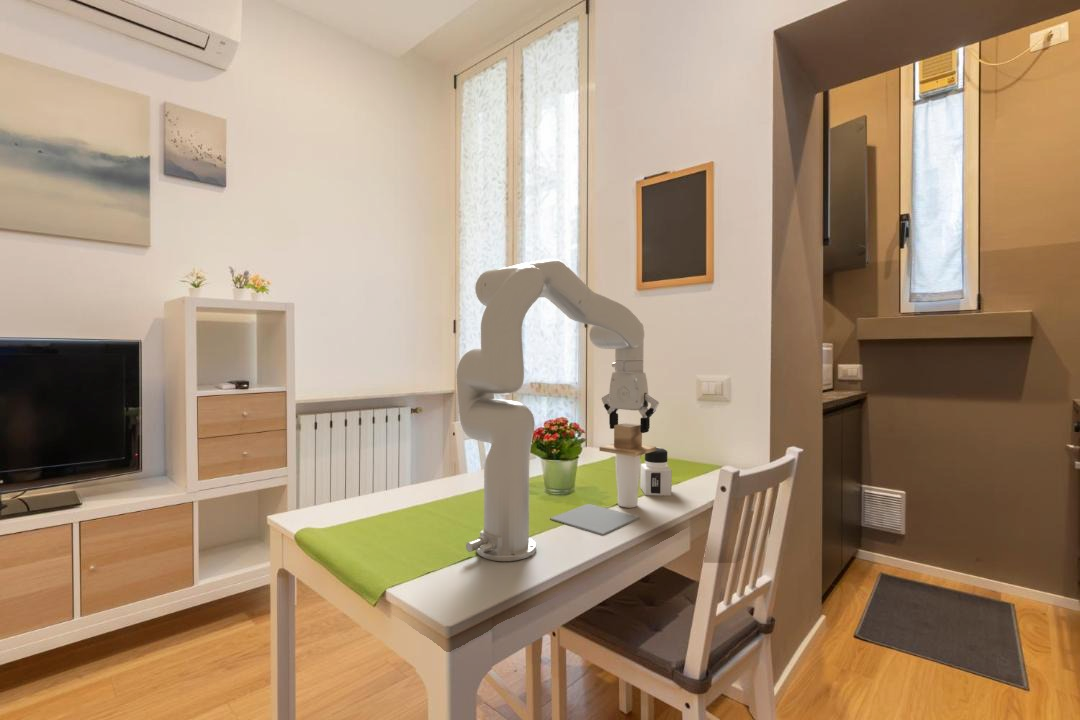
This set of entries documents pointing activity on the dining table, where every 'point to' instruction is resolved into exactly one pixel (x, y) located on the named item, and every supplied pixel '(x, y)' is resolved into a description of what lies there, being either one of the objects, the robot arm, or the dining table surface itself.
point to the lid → (627, 441)
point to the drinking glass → (627, 479)
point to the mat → (595, 519)
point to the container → (656, 474)
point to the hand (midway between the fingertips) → (628, 430)
